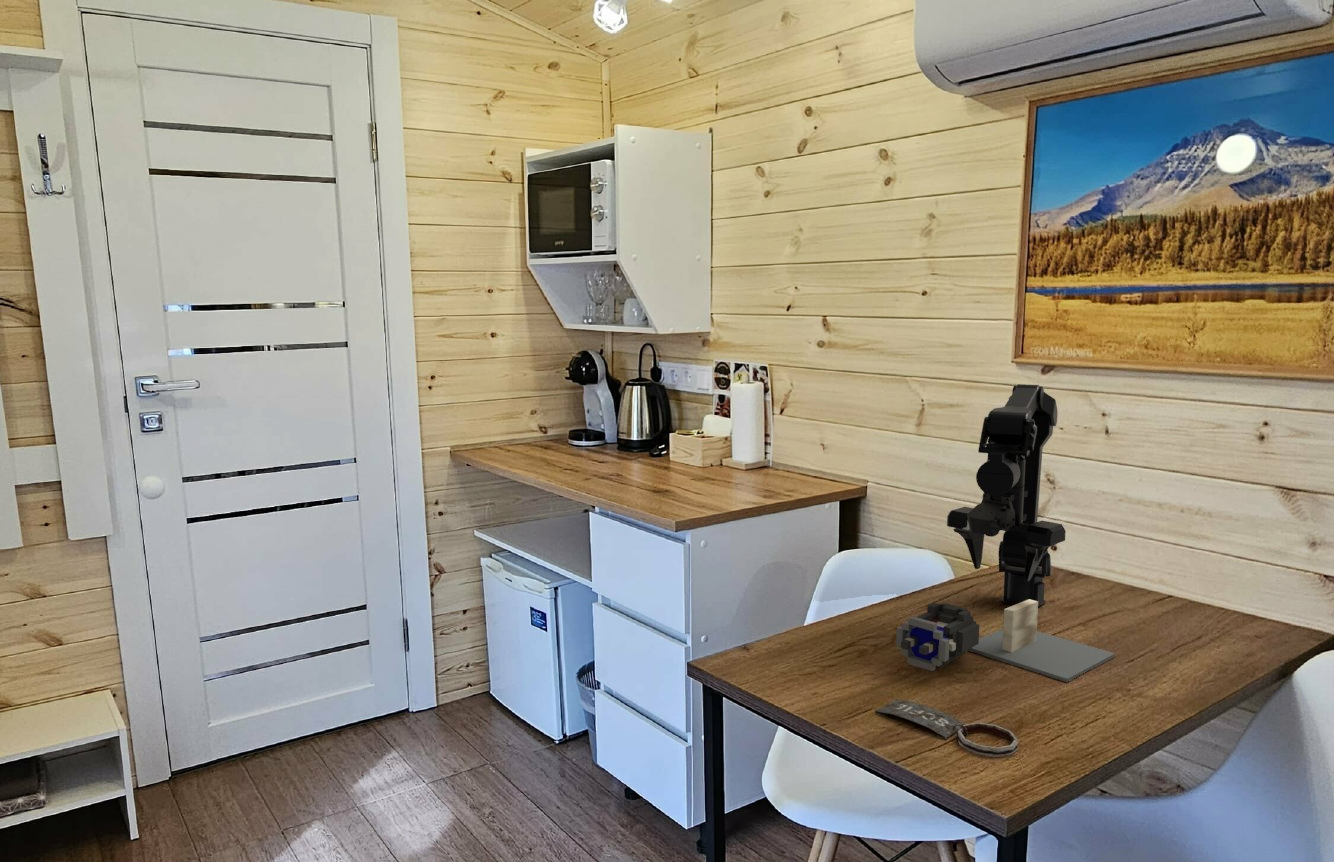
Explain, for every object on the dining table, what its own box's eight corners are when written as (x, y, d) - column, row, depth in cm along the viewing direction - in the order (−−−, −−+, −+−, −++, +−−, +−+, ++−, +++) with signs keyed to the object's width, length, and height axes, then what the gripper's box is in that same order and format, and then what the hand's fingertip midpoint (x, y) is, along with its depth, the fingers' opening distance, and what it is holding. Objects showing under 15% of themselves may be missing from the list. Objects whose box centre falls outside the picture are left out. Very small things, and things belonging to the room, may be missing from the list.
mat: (962, 648, 149) (962, 645, 149) (1012, 627, 159) (1013, 624, 159) (1067, 682, 135) (1067, 678, 135) (1114, 656, 145) (1115, 653, 145)
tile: (1026, 638, 152) (1028, 598, 151) (1036, 640, 151) (1038, 601, 150) (1001, 649, 147) (1003, 608, 146) (1011, 652, 146) (1013, 611, 145)
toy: (889, 617, 140) (938, 596, 150) (888, 669, 141) (936, 645, 151) (939, 631, 133) (986, 608, 144) (937, 685, 135) (984, 659, 145)
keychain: (901, 701, 130) (902, 688, 130) (1028, 747, 116) (1029, 732, 116) (871, 717, 125) (871, 704, 125) (1000, 767, 111) (1001, 752, 111)
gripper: (930, 483, 151) (927, 571, 153) (1036, 500, 137) (1031, 597, 139) (965, 475, 158) (962, 559, 160) (1069, 490, 144) (1064, 583, 146)
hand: (1001, 574), depth 151 cm, fingers open, 9 cm apart
